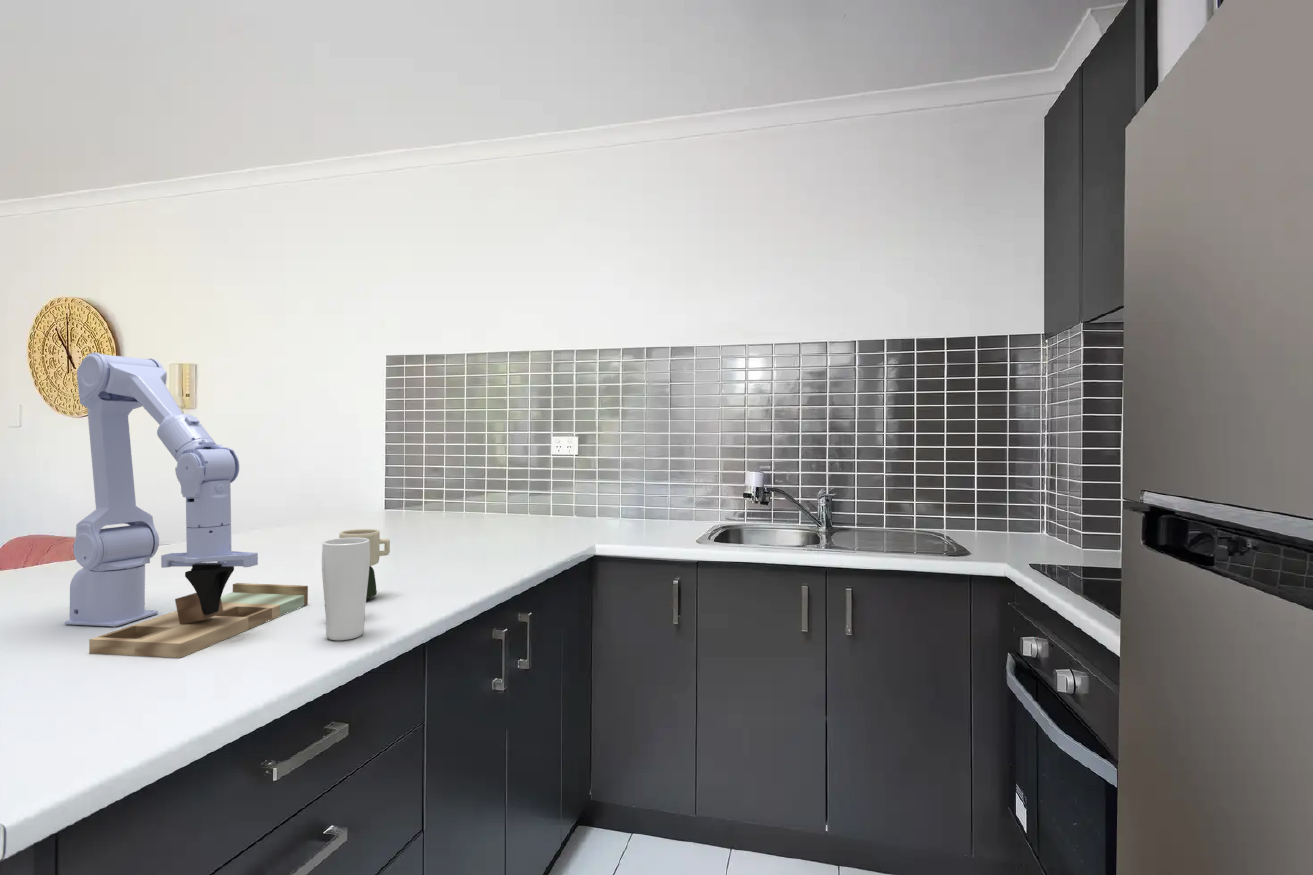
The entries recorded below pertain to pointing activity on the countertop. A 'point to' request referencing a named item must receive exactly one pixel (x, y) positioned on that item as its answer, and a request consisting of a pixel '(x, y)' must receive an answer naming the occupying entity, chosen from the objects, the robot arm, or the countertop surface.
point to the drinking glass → (345, 586)
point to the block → (192, 609)
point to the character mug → (374, 552)
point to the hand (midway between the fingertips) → (210, 613)
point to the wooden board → (203, 623)
